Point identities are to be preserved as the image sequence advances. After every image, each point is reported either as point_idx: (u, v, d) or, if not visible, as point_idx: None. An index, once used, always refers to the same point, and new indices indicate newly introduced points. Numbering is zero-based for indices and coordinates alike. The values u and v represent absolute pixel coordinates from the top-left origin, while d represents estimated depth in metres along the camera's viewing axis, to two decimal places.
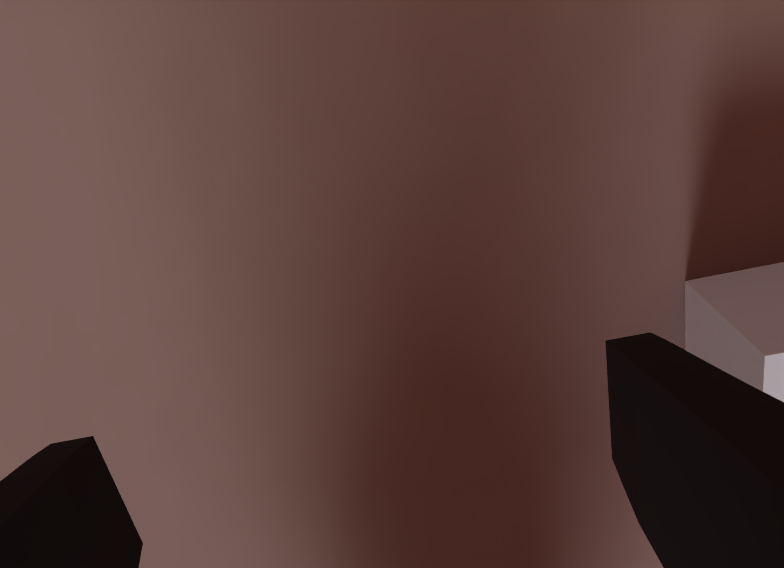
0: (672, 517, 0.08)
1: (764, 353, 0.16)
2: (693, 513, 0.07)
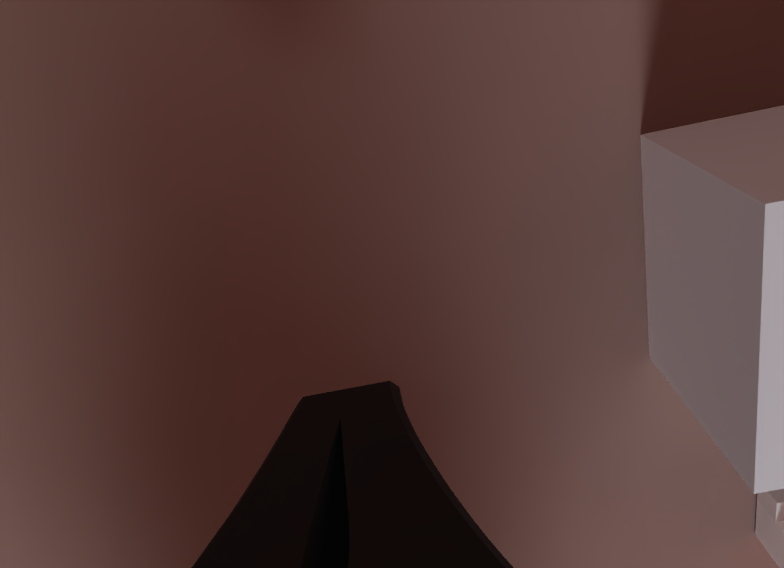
0: None
1: (763, 201, 0.09)
2: None
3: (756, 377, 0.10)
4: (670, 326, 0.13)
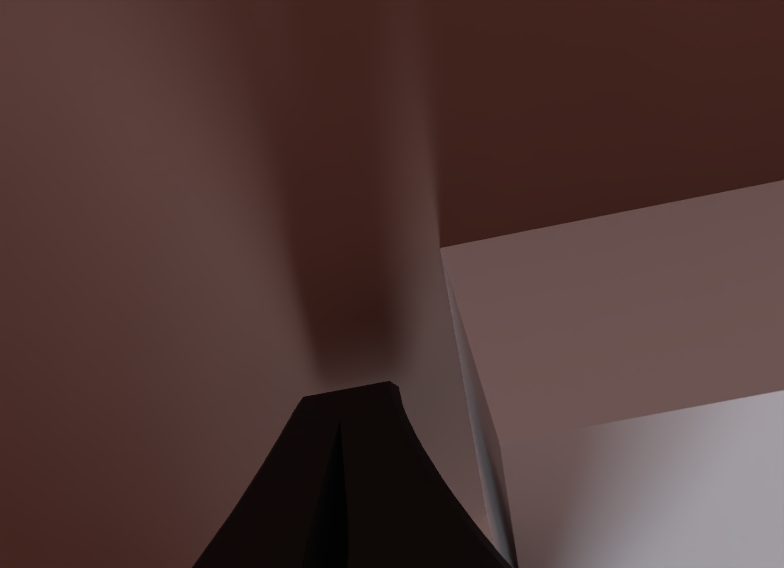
0: None
1: (502, 432, 0.06)
2: None
3: None
4: (487, 499, 0.10)
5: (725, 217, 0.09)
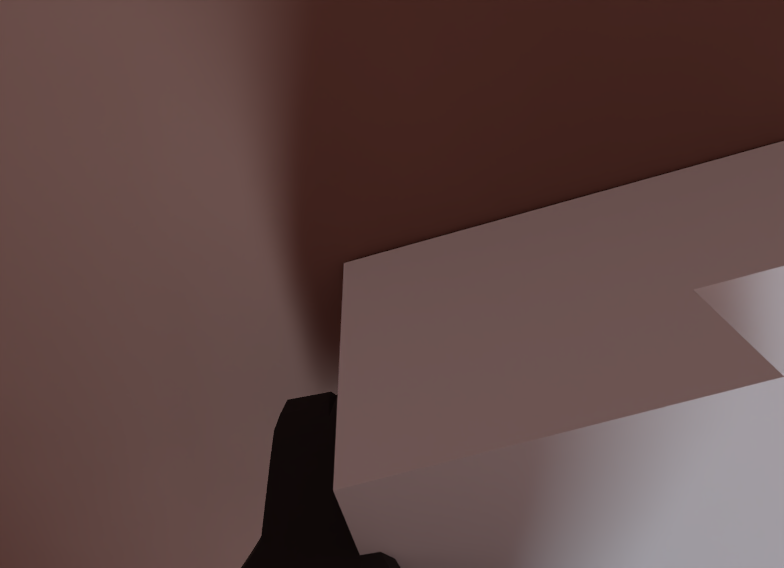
0: None
1: (339, 477, 0.05)
2: None
3: None
4: None
5: (627, 217, 0.08)
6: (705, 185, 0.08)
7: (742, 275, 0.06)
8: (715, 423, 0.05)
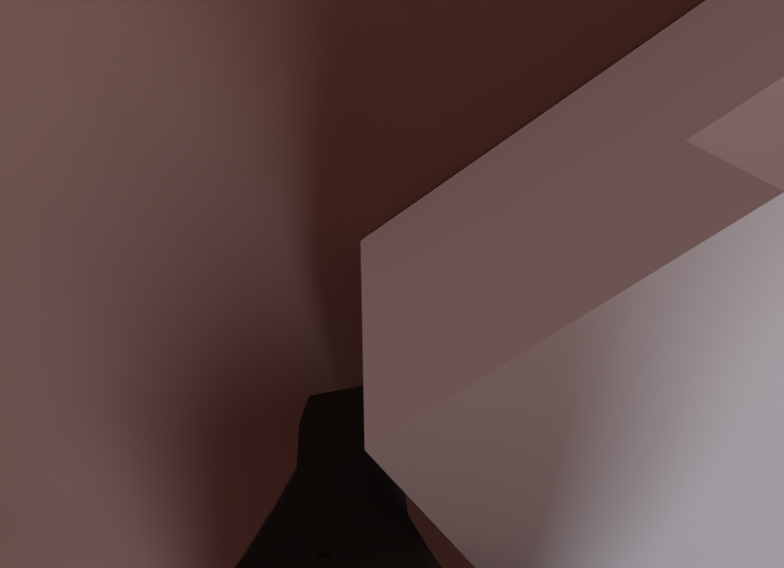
0: None
1: (369, 436, 0.05)
2: None
3: None
4: None
5: (615, 97, 0.08)
6: (690, 34, 0.08)
7: (735, 107, 0.06)
8: (728, 265, 0.05)
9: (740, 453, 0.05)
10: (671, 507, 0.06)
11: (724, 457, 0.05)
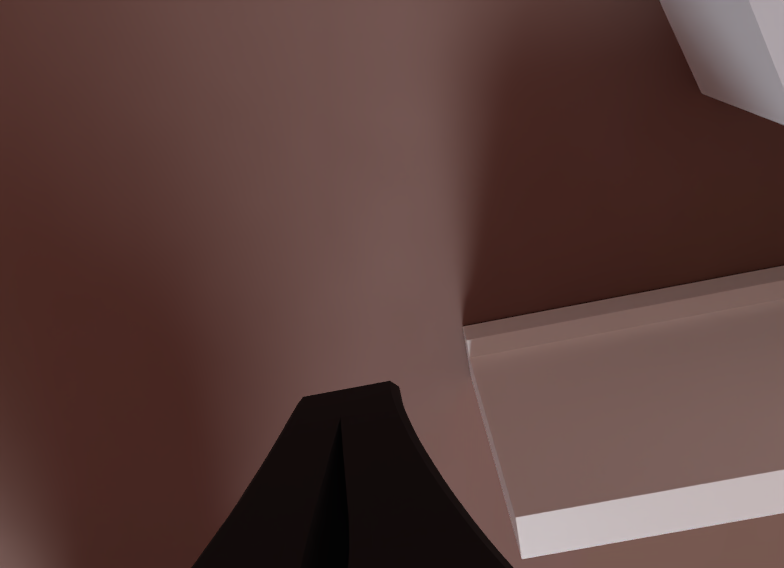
0: None
1: None
2: None
3: (760, 34, 0.13)
4: (701, 50, 0.16)
5: None
6: None
7: None
8: None
9: None
10: None
11: None
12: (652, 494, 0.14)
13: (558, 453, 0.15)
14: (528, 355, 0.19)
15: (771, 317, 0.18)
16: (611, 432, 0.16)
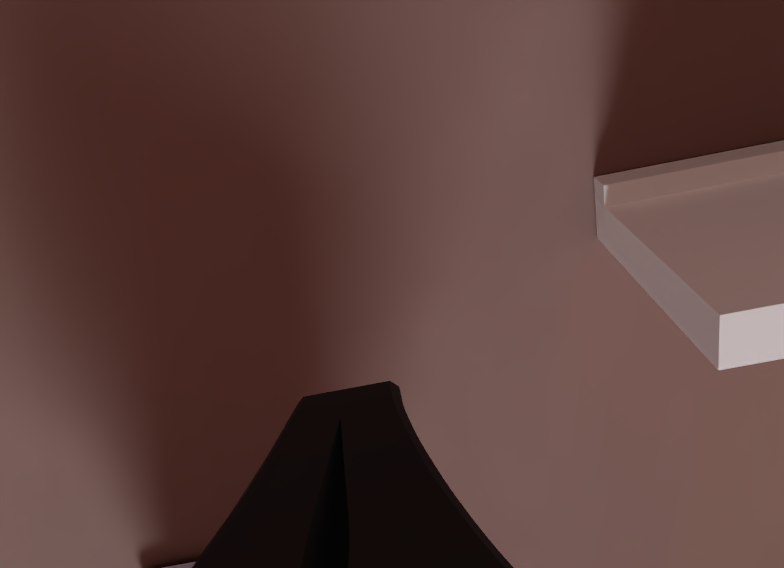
0: None
1: None
2: None
3: None
4: None
5: None
6: None
7: None
8: None
9: None
10: None
11: None
12: None
13: (746, 266, 0.14)
14: (672, 200, 0.17)
15: None
16: None
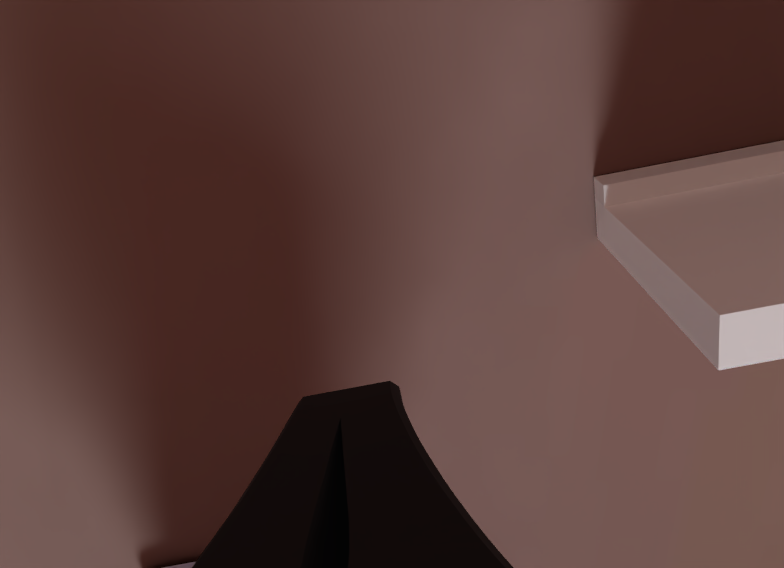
0: None
1: None
2: None
3: None
4: None
5: None
6: None
7: None
8: None
9: None
10: None
11: None
12: None
13: (746, 266, 0.14)
14: (672, 200, 0.17)
15: None
16: None
